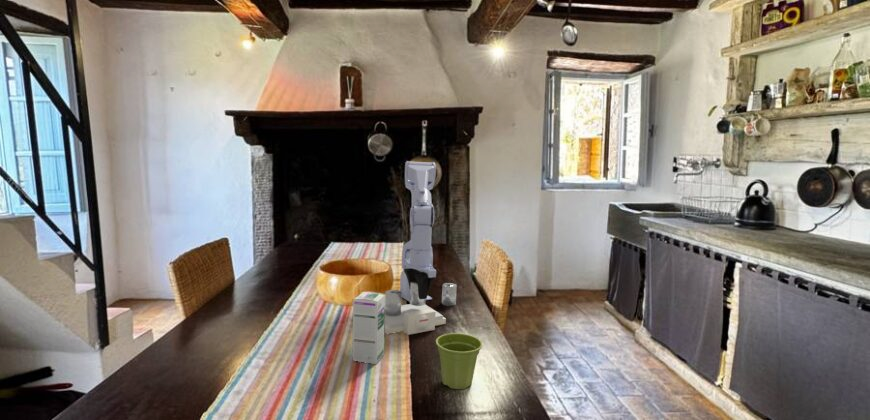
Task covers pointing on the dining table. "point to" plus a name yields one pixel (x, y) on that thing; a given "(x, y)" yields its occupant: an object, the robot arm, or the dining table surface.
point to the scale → (414, 320)
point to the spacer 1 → (393, 302)
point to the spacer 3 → (449, 294)
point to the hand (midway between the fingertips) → (418, 296)
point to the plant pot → (458, 358)
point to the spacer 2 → (415, 295)
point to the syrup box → (369, 327)
